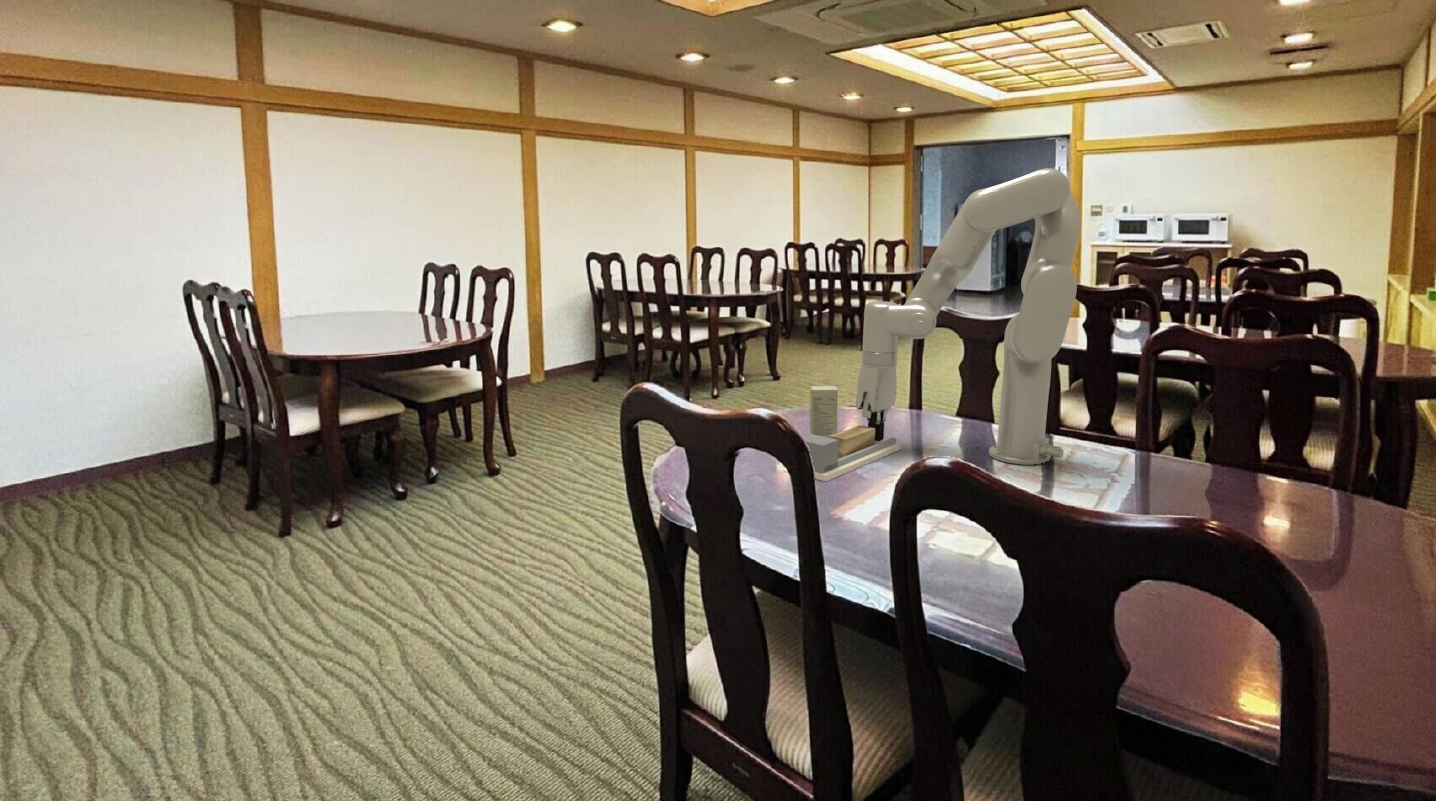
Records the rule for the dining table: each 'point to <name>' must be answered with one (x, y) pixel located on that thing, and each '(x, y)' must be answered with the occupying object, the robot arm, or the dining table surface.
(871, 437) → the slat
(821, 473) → the board
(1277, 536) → the dining table surface
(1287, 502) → the dining table surface
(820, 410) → the skincare box
